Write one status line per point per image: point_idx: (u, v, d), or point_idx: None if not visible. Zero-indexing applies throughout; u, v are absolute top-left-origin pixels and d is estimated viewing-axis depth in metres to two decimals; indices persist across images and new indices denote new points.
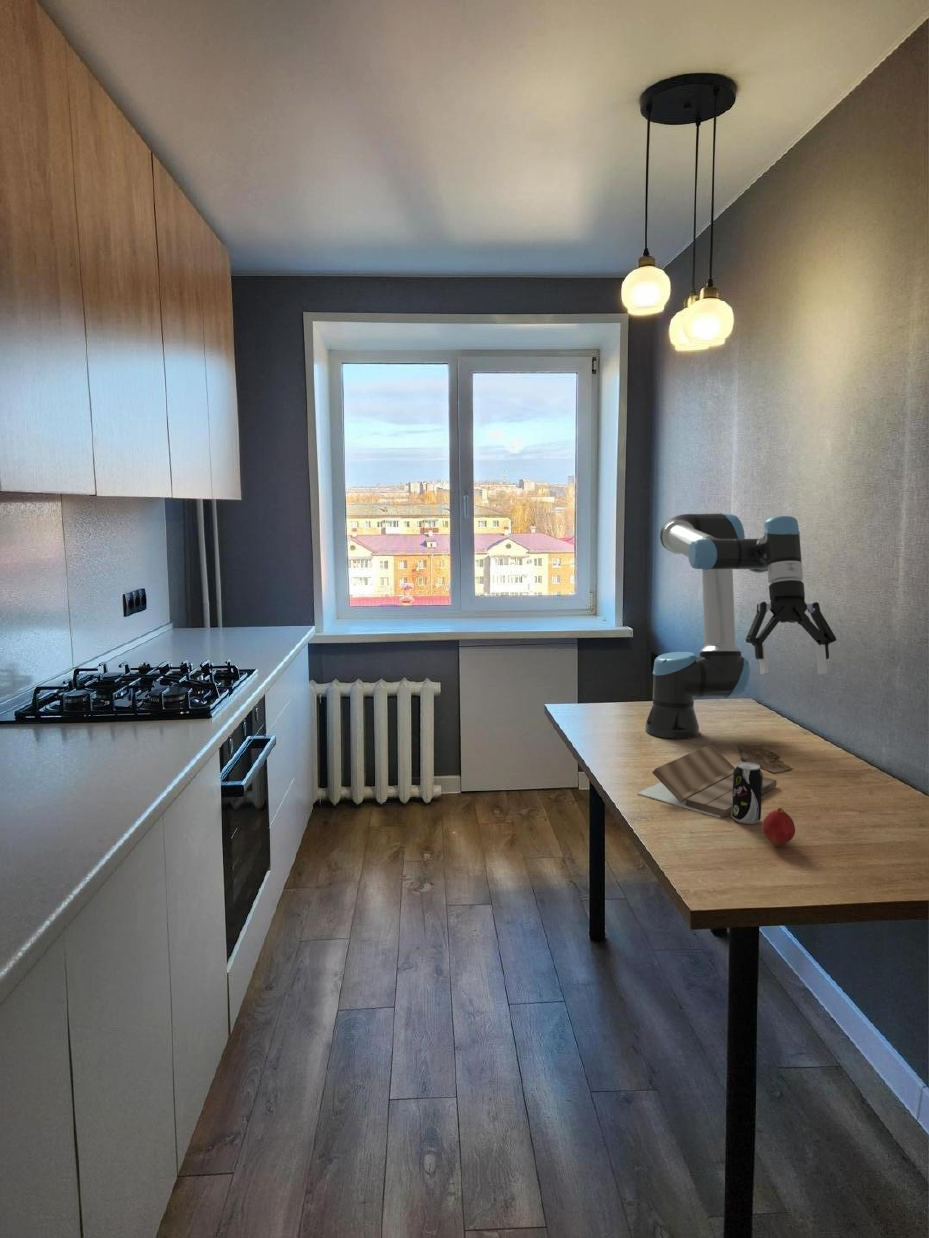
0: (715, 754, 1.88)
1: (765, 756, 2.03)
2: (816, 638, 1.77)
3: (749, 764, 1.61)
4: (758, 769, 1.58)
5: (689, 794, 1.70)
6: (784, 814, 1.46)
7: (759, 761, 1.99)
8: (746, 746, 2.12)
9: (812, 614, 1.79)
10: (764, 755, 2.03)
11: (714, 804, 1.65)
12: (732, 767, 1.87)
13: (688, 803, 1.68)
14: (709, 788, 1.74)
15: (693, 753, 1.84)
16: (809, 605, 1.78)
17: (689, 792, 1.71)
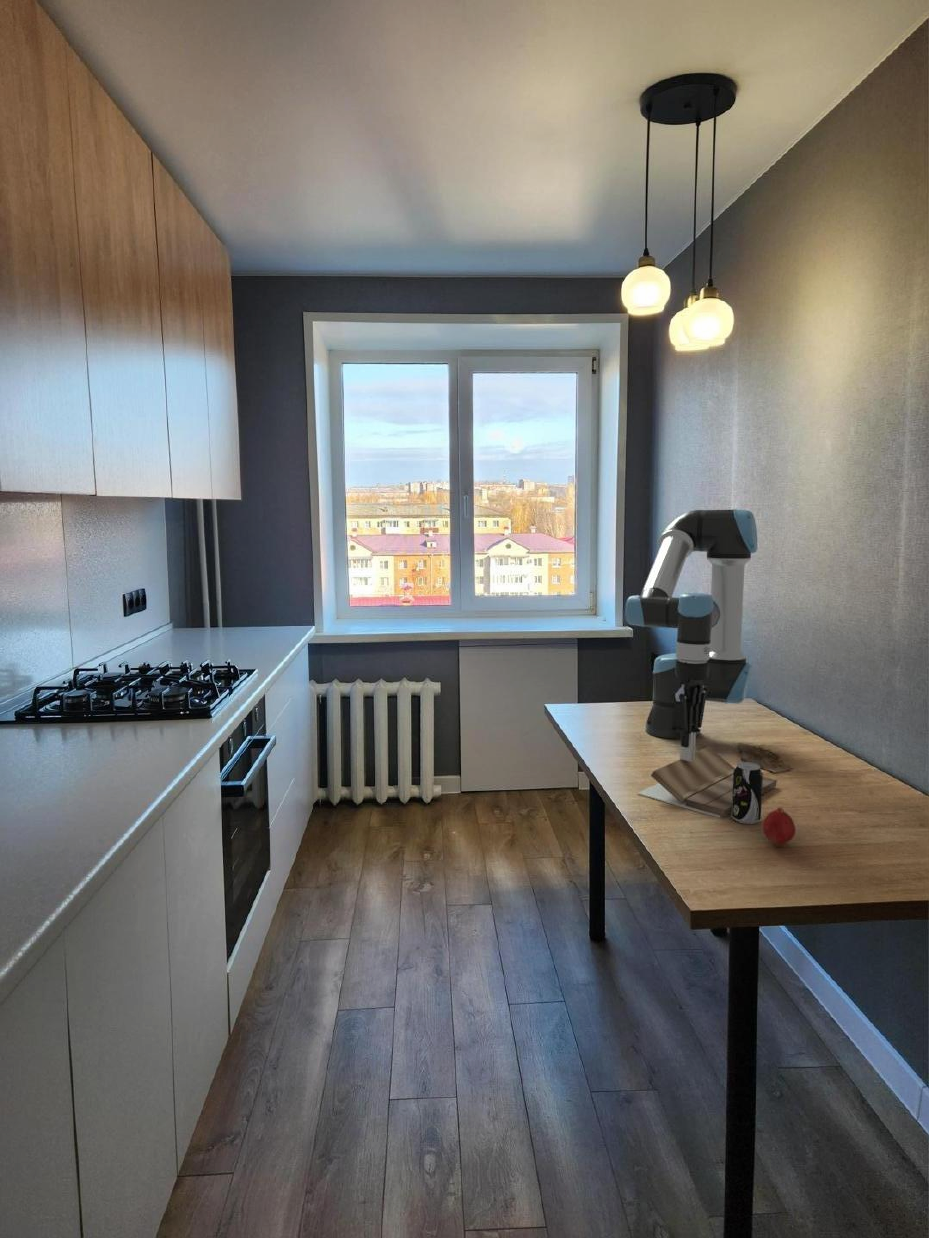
0: (714, 756, 1.89)
1: (765, 756, 2.03)
2: None
3: (749, 764, 1.61)
4: (758, 769, 1.58)
5: (689, 794, 1.70)
6: (784, 814, 1.46)
7: (759, 761, 1.99)
8: (746, 746, 2.12)
9: None
10: (764, 755, 2.03)
11: (714, 804, 1.65)
12: (732, 767, 1.87)
13: (688, 803, 1.68)
14: (709, 788, 1.74)
15: None
16: (702, 686, 1.82)
17: (689, 792, 1.71)
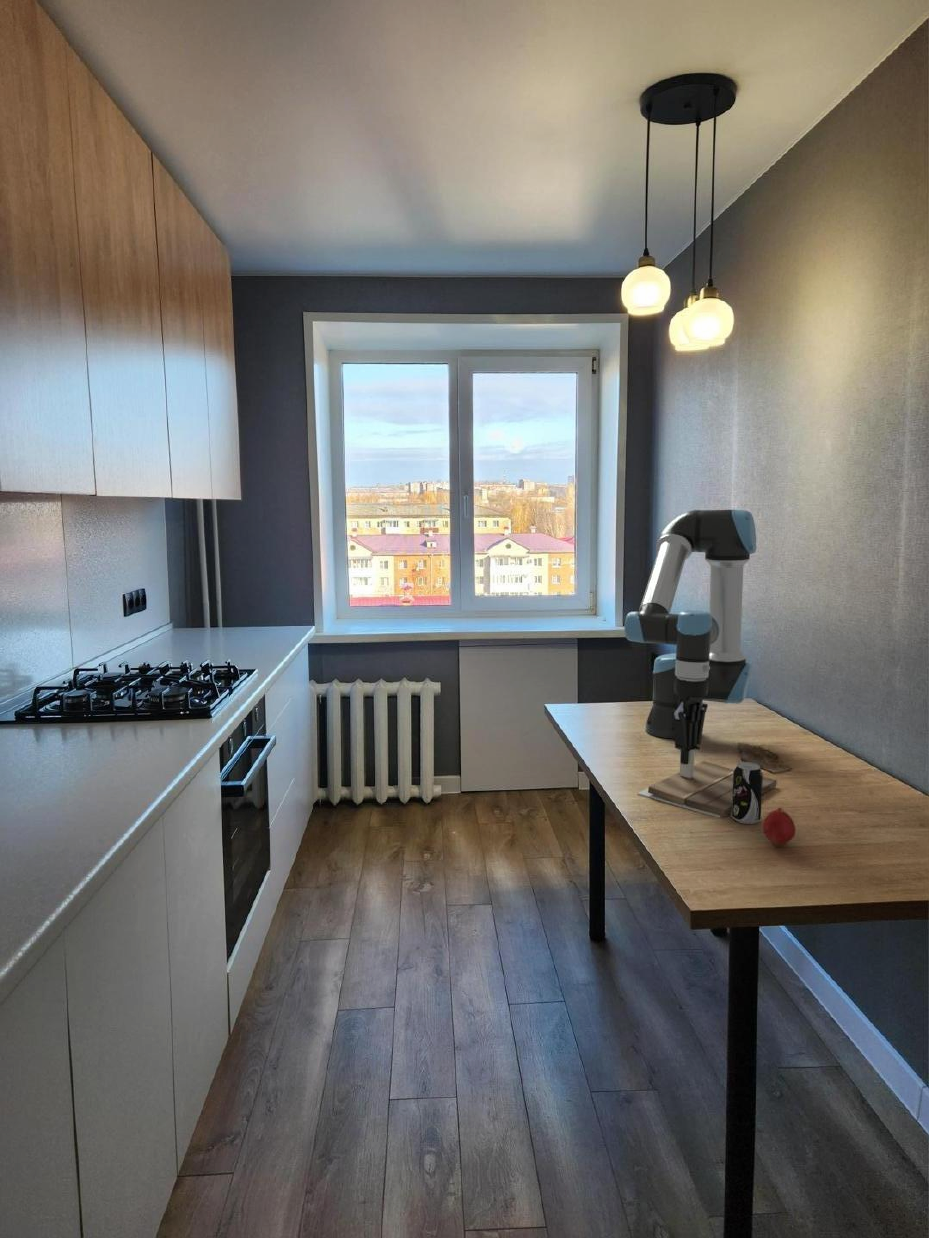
0: (710, 766, 1.89)
1: (765, 756, 2.03)
2: None
3: (749, 764, 1.61)
4: (758, 769, 1.58)
5: (688, 794, 1.71)
6: (784, 814, 1.46)
7: (759, 761, 1.99)
8: (746, 746, 2.12)
9: None
10: (764, 755, 2.03)
11: (714, 804, 1.65)
12: (731, 770, 1.87)
13: (688, 803, 1.68)
14: (709, 788, 1.74)
15: None
16: (701, 703, 1.82)
17: (689, 794, 1.71)
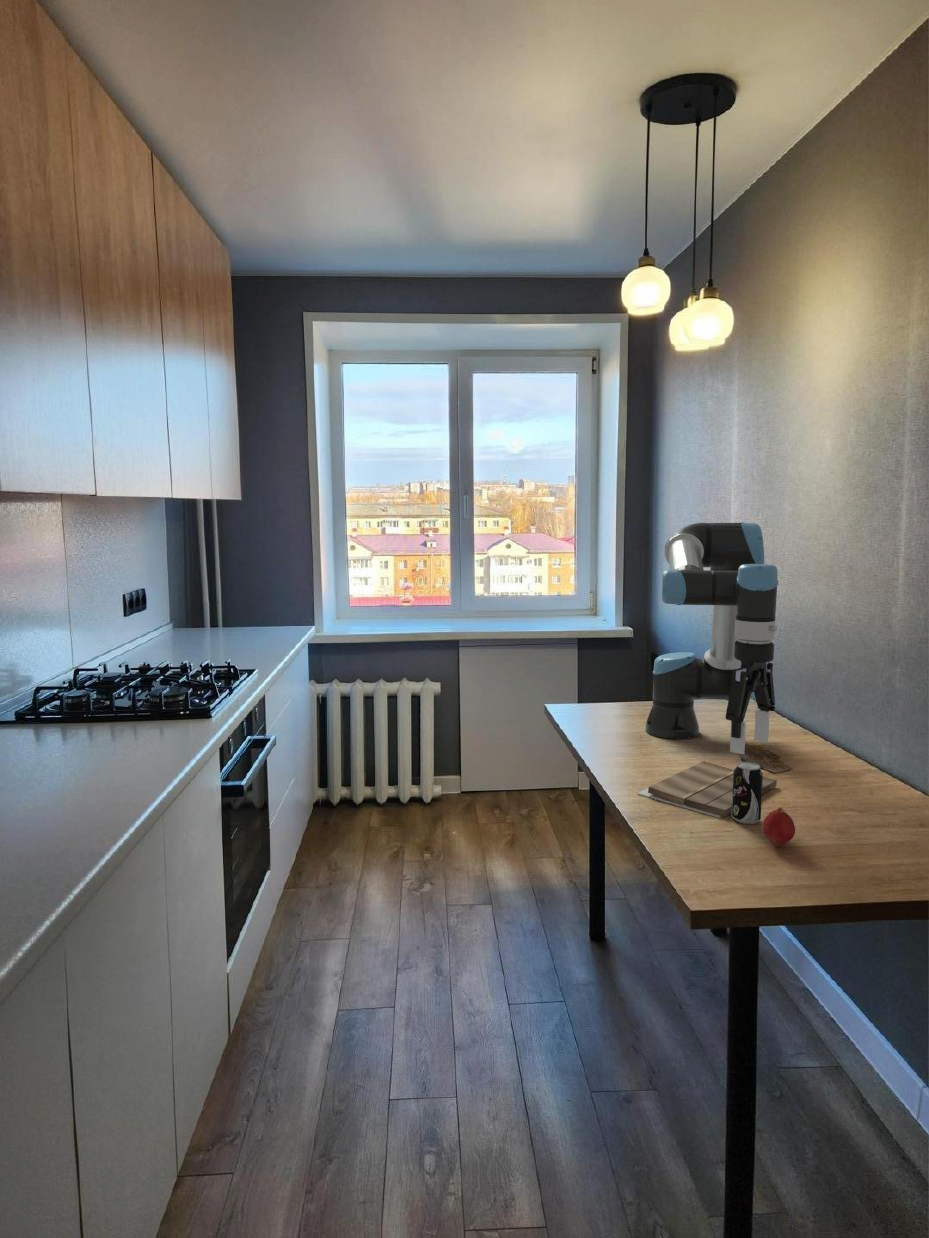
0: (710, 766, 1.89)
1: (765, 756, 2.03)
2: (761, 702, 1.61)
3: (749, 764, 1.61)
4: (758, 769, 1.58)
5: (688, 794, 1.71)
6: (784, 814, 1.47)
7: (759, 761, 1.99)
8: (746, 746, 2.12)
9: None
10: (764, 755, 2.03)
11: (714, 804, 1.65)
12: (731, 770, 1.87)
13: (688, 803, 1.68)
14: (709, 788, 1.74)
15: (687, 770, 1.86)
16: (765, 665, 1.60)
17: (689, 794, 1.71)
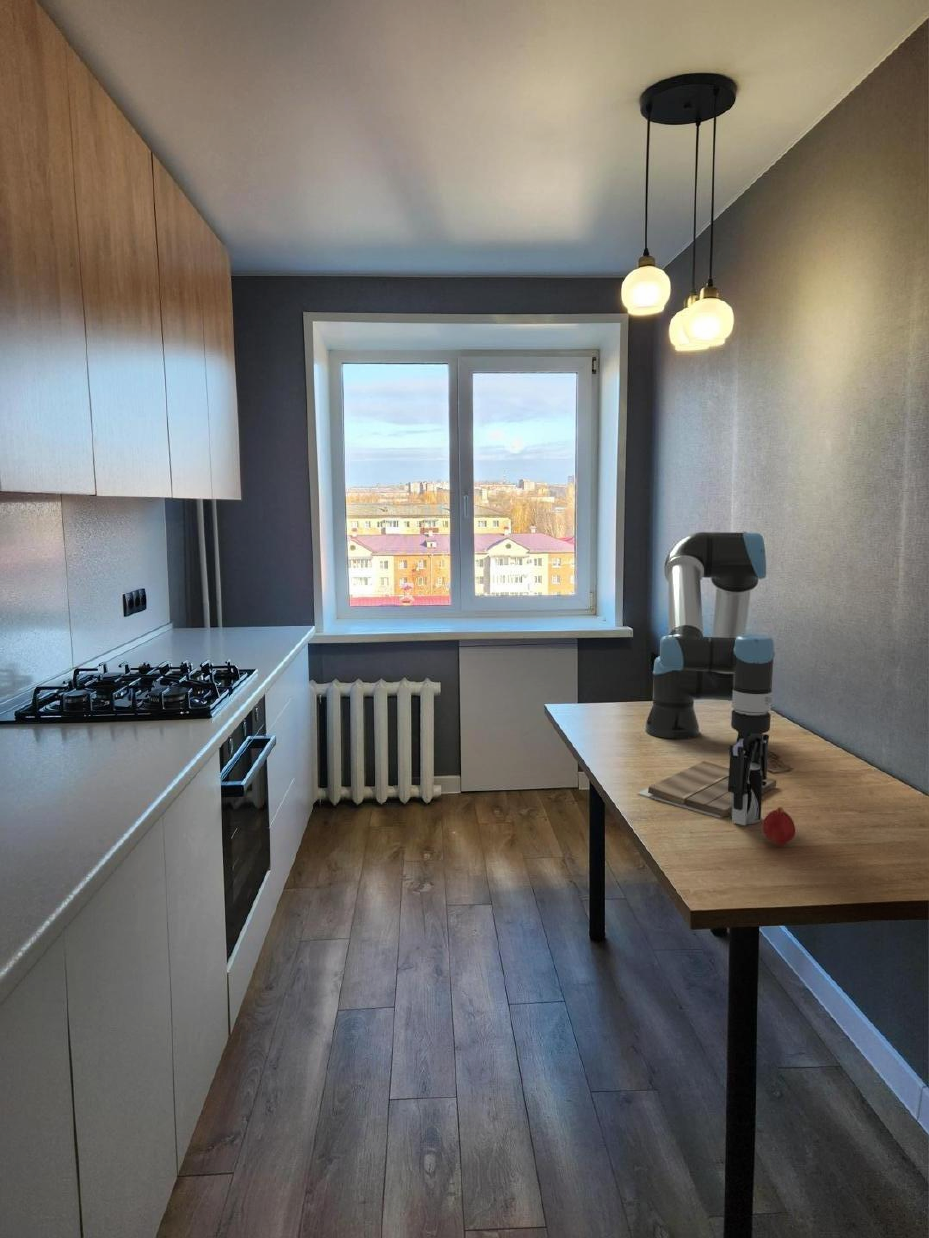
0: (710, 766, 1.89)
1: None
2: None
3: None
4: (758, 769, 1.58)
5: (688, 794, 1.71)
6: (784, 814, 1.47)
7: None
8: None
9: None
10: None
11: (714, 804, 1.65)
12: None
13: (688, 803, 1.68)
14: (709, 788, 1.74)
15: (687, 770, 1.86)
16: None
17: (689, 794, 1.71)
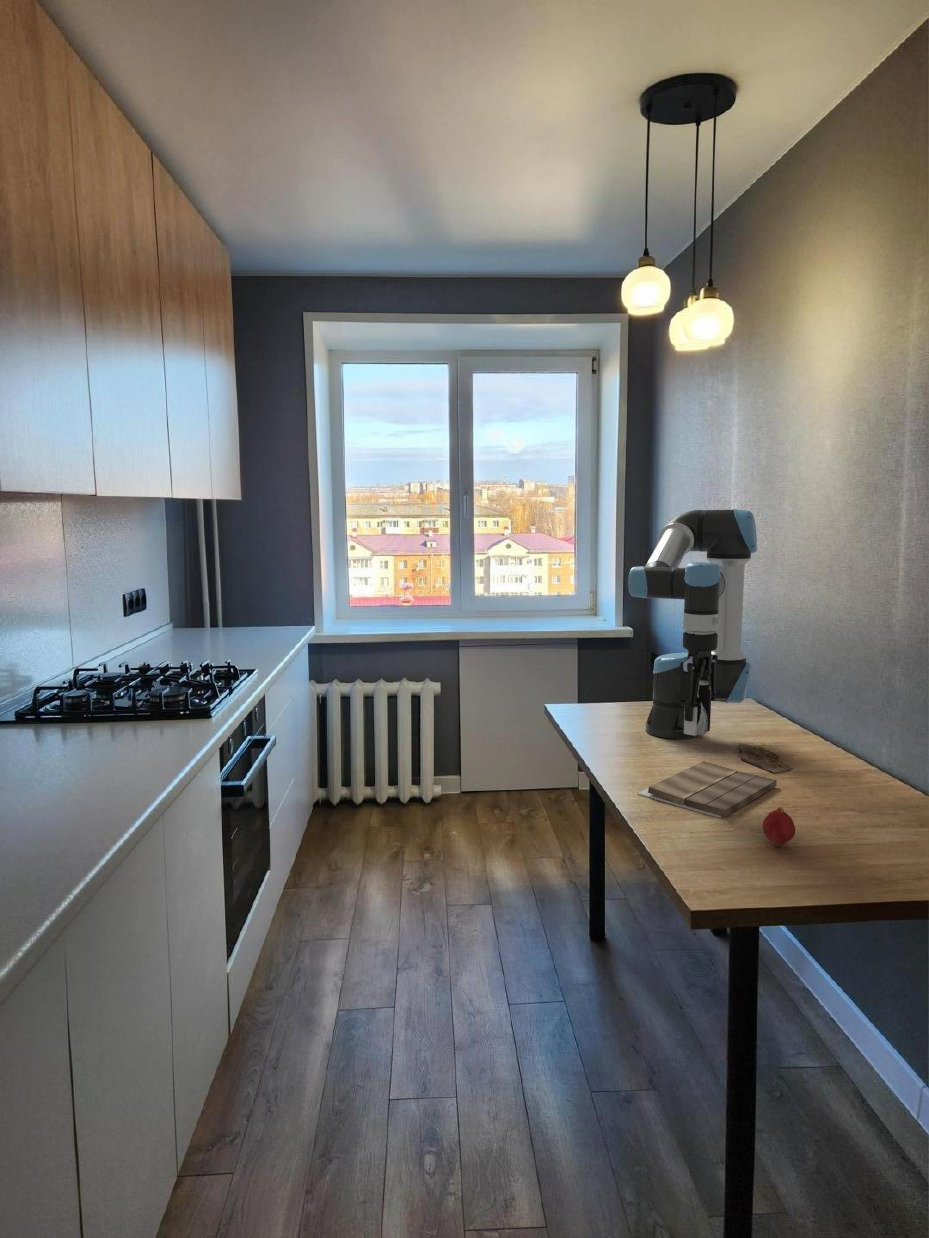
0: (710, 766, 1.89)
1: (765, 756, 2.03)
2: None
3: (699, 681, 1.76)
4: (707, 684, 1.74)
5: (688, 794, 1.71)
6: (784, 814, 1.46)
7: (759, 761, 1.99)
8: (746, 746, 2.12)
9: None
10: (764, 755, 2.03)
11: (714, 804, 1.65)
12: (731, 770, 1.87)
13: (688, 803, 1.68)
14: (709, 788, 1.74)
15: (687, 770, 1.86)
16: None
17: (689, 794, 1.71)
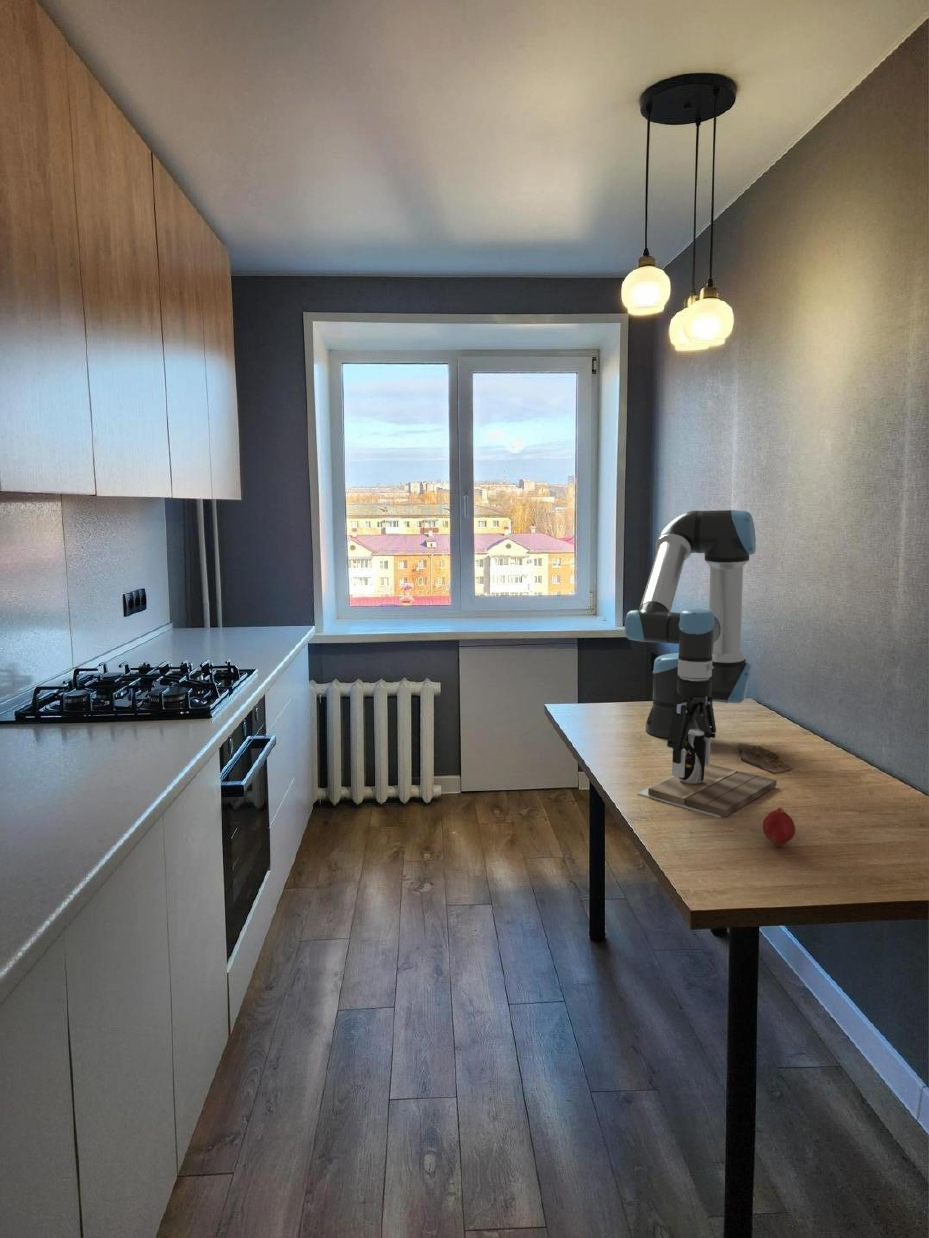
0: (710, 767, 1.90)
1: (765, 756, 2.03)
2: (703, 730, 1.82)
3: (695, 731, 1.79)
4: (702, 735, 1.76)
5: (688, 795, 1.71)
6: (784, 814, 1.47)
7: (759, 761, 1.99)
8: (746, 746, 2.12)
9: None
10: (764, 755, 2.03)
11: (714, 804, 1.65)
12: (731, 770, 1.87)
13: (688, 803, 1.68)
14: (709, 788, 1.74)
15: None
16: (705, 698, 1.80)
17: (689, 794, 1.71)
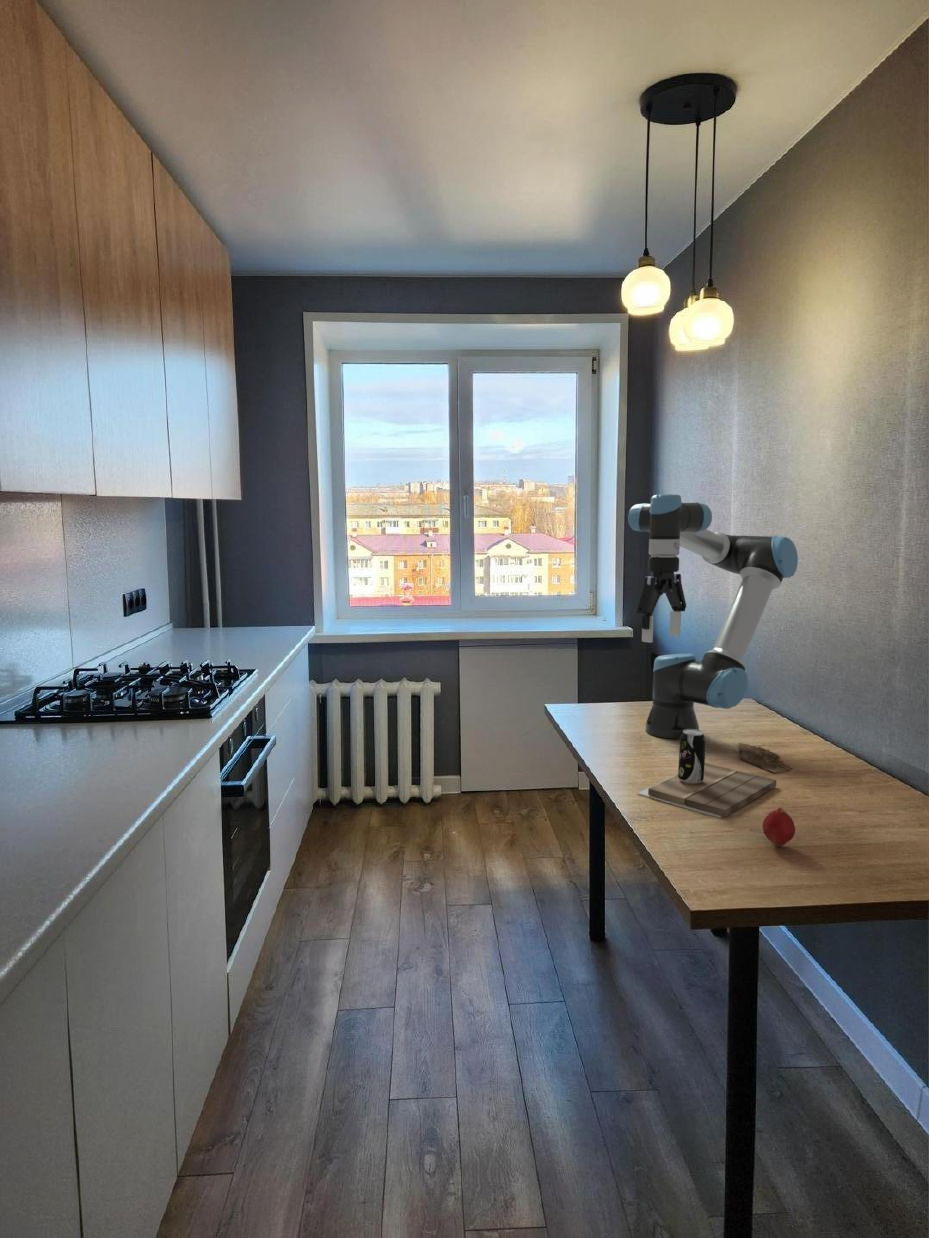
0: (710, 767, 1.90)
1: (765, 756, 2.03)
2: (674, 605, 2.01)
3: (694, 731, 1.79)
4: (701, 735, 1.76)
5: (688, 795, 1.71)
6: (784, 814, 1.46)
7: (759, 761, 1.99)
8: (746, 746, 2.12)
9: None
10: (764, 755, 2.03)
11: (714, 804, 1.65)
12: (731, 770, 1.87)
13: (688, 803, 1.68)
14: (709, 788, 1.74)
15: None
16: (674, 576, 1.99)
17: (689, 794, 1.71)
